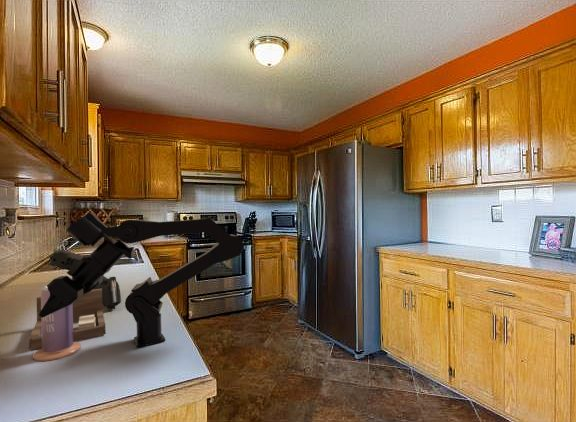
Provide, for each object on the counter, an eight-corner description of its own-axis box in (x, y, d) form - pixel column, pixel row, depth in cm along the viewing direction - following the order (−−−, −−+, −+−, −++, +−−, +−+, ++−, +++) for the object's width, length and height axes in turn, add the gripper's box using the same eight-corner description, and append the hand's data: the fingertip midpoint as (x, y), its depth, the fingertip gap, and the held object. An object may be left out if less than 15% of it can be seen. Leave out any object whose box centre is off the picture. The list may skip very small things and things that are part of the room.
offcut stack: (96, 335, 84) (95, 322, 84) (78, 339, 82) (77, 325, 82) (95, 325, 92) (95, 312, 92) (79, 327, 90) (79, 315, 90)
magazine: (90, 273, 127) (106, 258, 106) (99, 271, 130) (117, 257, 108) (93, 315, 124) (111, 309, 102) (103, 313, 126) (122, 307, 105)
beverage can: (79, 343, 76) (78, 282, 76) (60, 355, 70) (58, 289, 70) (56, 343, 76) (54, 283, 76) (35, 355, 71) (33, 289, 70)
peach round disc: (80, 353, 72) (80, 351, 72) (30, 365, 67) (30, 362, 67) (81, 341, 80) (81, 338, 80) (36, 350, 75) (36, 347, 75)
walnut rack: (105, 335, 83) (105, 301, 83) (28, 351, 74) (27, 313, 74) (102, 316, 98) (101, 288, 98) (37, 328, 90) (37, 297, 90)
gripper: (88, 235, 83) (41, 279, 80) (57, 241, 65) (-6, 298, 62) (121, 262, 86) (76, 307, 83) (100, 275, 68) (41, 332, 65)
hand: (50, 310), depth 73 cm, fingers open, 9 cm apart
